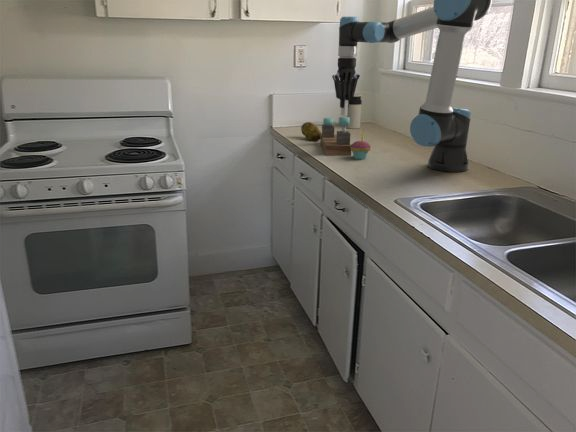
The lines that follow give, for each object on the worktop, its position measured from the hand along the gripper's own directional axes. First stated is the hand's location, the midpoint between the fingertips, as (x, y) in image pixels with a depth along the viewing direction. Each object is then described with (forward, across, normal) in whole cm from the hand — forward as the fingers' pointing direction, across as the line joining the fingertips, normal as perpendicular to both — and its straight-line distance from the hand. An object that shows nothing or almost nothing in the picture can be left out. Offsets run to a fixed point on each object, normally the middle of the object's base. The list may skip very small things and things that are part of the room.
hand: (343, 115), depth 205 cm
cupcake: (+16, 0, +12) cm, 20 cm away
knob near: (+9, 0, 0) cm, 9 cm away
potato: (+17, -4, -31) cm, 35 cm away
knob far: (+12, -4, -16) cm, 20 cm away
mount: (+16, -2, -8) cm, 18 cm away
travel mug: (+17, -43, -46) cm, 66 cm away
